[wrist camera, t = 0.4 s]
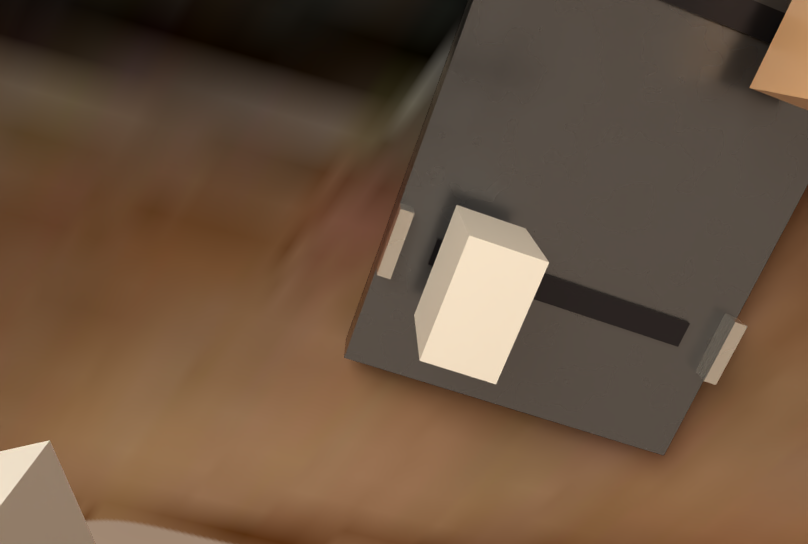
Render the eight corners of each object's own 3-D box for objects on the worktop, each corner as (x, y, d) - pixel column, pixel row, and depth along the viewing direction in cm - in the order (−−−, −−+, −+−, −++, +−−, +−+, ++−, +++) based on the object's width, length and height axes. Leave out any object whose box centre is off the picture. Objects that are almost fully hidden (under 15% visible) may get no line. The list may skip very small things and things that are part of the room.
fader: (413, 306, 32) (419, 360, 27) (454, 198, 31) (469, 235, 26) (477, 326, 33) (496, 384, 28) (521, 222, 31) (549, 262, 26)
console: (346, 339, 35) (343, 367, 33) (565, -271, 28) (586, -303, 25) (649, 433, 38) (671, 467, 35) (930, -108, 30) (987, -121, 27)
